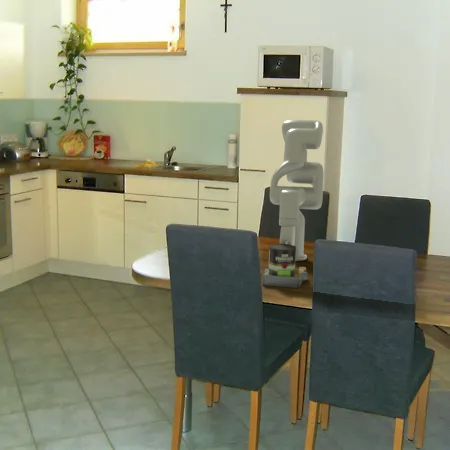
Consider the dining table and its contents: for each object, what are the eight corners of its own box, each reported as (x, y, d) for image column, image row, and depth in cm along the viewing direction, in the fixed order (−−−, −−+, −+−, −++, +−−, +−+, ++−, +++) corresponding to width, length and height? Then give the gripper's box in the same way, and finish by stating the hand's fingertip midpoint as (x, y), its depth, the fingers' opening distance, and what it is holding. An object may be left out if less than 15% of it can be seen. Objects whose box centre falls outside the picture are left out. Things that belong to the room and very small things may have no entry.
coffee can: (297, 285, 260) (298, 249, 258) (270, 286, 259) (271, 249, 256) (291, 278, 270) (293, 243, 268) (265, 278, 269) (266, 243, 266)
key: (299, 269, 284) (299, 266, 284) (306, 270, 283) (306, 267, 283) (297, 273, 278) (297, 270, 277) (304, 274, 277) (304, 271, 277)
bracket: (264, 275, 273) (265, 266, 273) (307, 279, 270) (307, 269, 269) (258, 284, 261) (258, 274, 260) (303, 288, 257) (303, 278, 256)
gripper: (282, 217, 277) (280, 261, 281) (276, 224, 263) (274, 270, 267) (300, 218, 276) (299, 262, 279) (295, 225, 261) (293, 272, 265)
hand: (287, 266), depth 273 cm, fingers closed
